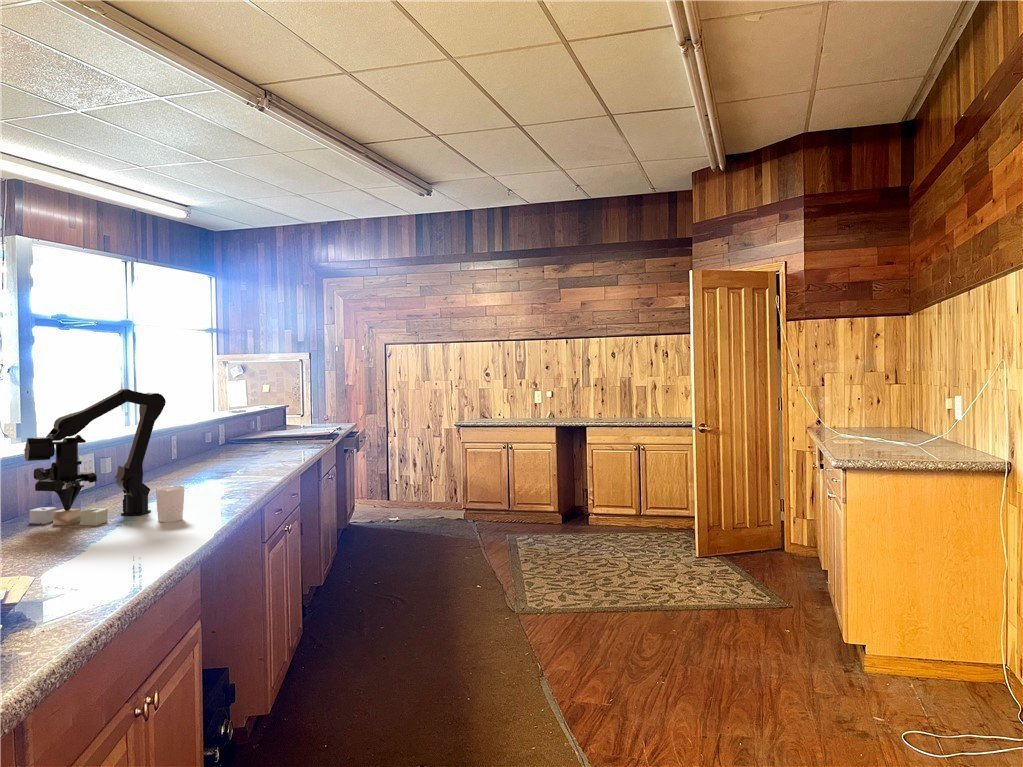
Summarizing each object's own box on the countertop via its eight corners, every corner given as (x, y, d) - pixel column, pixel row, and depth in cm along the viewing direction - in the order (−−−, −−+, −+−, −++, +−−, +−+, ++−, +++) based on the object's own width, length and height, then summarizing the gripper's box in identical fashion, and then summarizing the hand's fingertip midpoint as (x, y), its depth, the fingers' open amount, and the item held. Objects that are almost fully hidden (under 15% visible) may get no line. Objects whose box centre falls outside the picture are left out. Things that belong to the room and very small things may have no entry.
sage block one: (107, 521, 213) (107, 508, 213) (96, 525, 208) (96, 511, 208) (92, 521, 213) (92, 508, 213) (80, 525, 208) (80, 511, 208)
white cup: (150, 521, 214) (150, 488, 214) (173, 516, 221) (173, 484, 221) (167, 523, 210) (167, 490, 210) (190, 519, 217) (190, 487, 217)
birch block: (80, 521, 213) (80, 508, 213) (68, 525, 208) (68, 512, 208) (65, 521, 213) (65, 508, 213) (53, 525, 208) (53, 511, 208)
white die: (57, 520, 214) (57, 507, 214) (45, 524, 209) (44, 510, 209) (42, 520, 215) (42, 506, 215) (29, 523, 210) (29, 510, 210)
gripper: (64, 454, 220) (65, 503, 221) (17, 461, 202) (17, 515, 202) (97, 454, 219) (98, 504, 219) (53, 462, 201) (53, 516, 201)
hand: (67, 509), depth 210 cm, fingers closed
